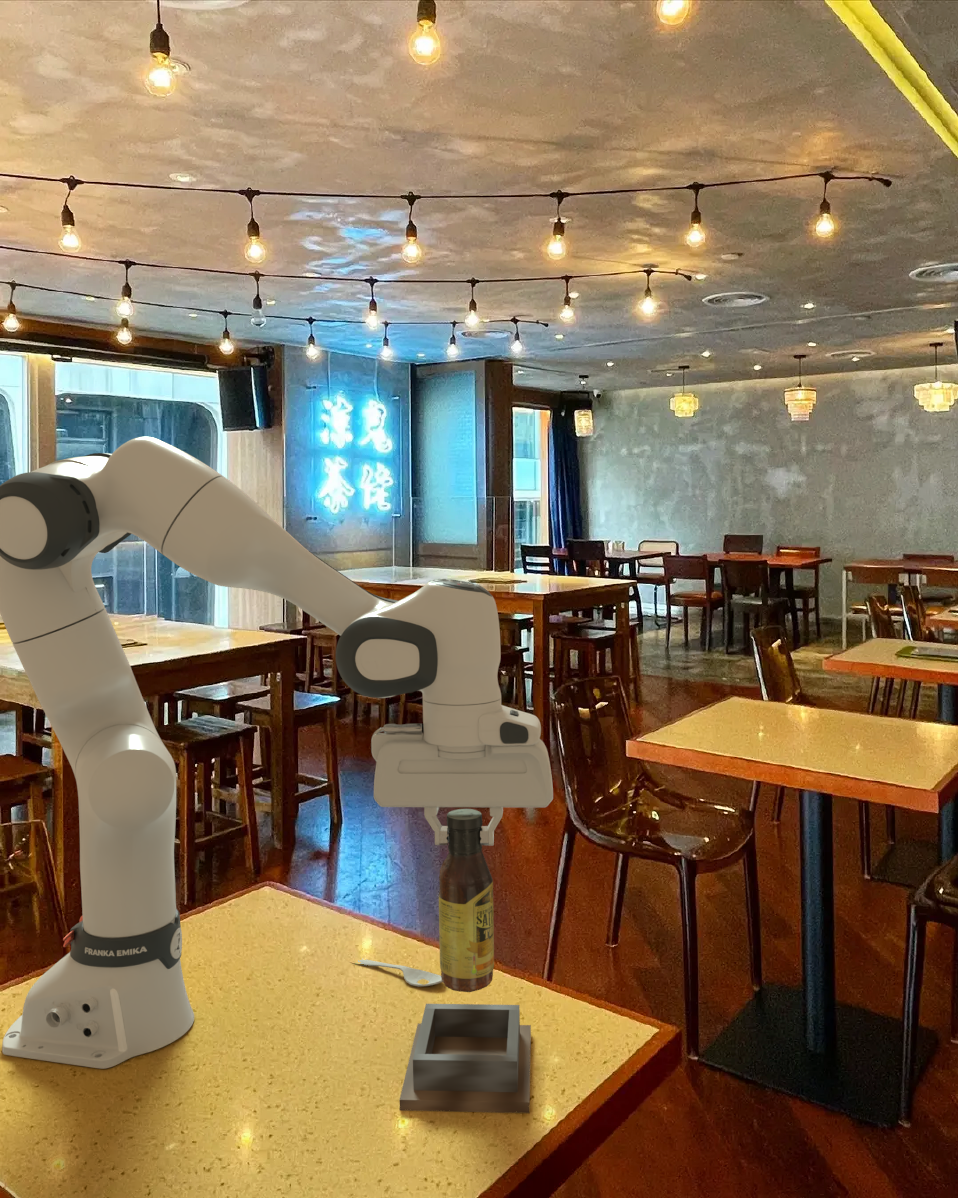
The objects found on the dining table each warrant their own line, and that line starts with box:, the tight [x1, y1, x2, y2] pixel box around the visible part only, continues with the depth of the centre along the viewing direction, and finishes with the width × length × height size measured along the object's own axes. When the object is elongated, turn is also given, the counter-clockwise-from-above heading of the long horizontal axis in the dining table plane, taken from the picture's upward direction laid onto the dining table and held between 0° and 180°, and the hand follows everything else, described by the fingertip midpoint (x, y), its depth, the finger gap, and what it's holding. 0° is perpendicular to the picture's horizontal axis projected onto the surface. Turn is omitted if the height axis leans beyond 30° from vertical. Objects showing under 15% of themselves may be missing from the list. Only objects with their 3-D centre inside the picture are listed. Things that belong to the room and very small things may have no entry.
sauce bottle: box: [438, 808, 495, 993], centre depth 111 cm, size 6×6×20 cm
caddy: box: [398, 1003, 532, 1114], centre depth 113 cm, size 14×16×5 cm
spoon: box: [358, 958, 443, 987], centre depth 138 cm, size 4×21×2 cm, turn 56°
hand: (464, 843), depth 111 cm, fingers closed on sauce bottle, 4 cm apart
